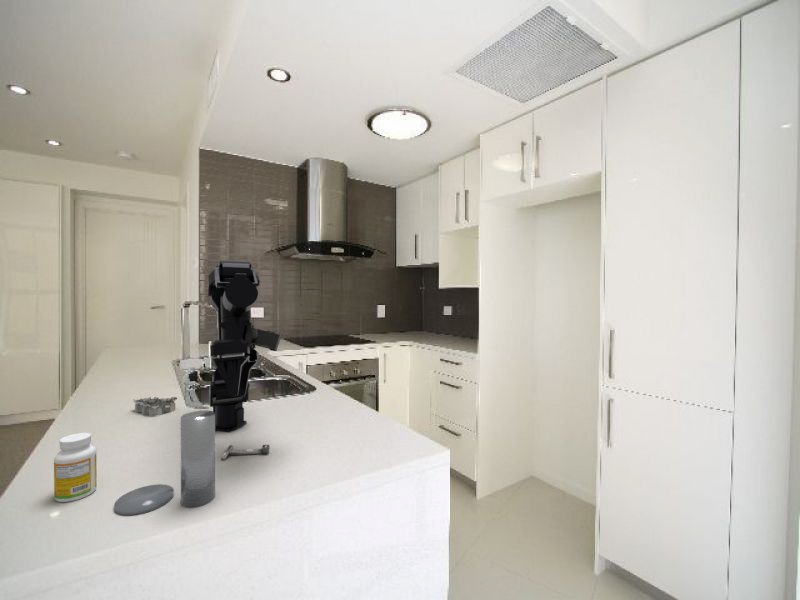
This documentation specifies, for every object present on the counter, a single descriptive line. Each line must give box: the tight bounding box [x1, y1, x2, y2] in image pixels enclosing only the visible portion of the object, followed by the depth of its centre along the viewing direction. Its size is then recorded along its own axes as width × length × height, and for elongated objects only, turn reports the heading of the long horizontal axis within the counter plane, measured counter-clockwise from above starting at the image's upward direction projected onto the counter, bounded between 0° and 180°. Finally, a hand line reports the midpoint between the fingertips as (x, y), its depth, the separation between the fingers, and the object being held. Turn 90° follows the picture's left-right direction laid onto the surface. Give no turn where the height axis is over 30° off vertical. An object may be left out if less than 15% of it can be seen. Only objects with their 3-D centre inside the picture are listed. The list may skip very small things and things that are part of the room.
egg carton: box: [132, 396, 178, 417], centre depth 105 cm, size 11×8×4 cm
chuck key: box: [220, 444, 270, 461], centre depth 78 cm, size 9×5×2 cm, turn 98°
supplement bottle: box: [53, 432, 98, 503], centre depth 62 cm, size 5×5×10 cm
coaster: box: [113, 484, 174, 516], centre depth 60 cm, size 8×8×1 cm
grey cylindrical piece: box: [180, 410, 216, 509], centre depth 61 cm, size 5×5×14 cm
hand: (238, 395), depth 73 cm, fingers open, 9 cm apart
